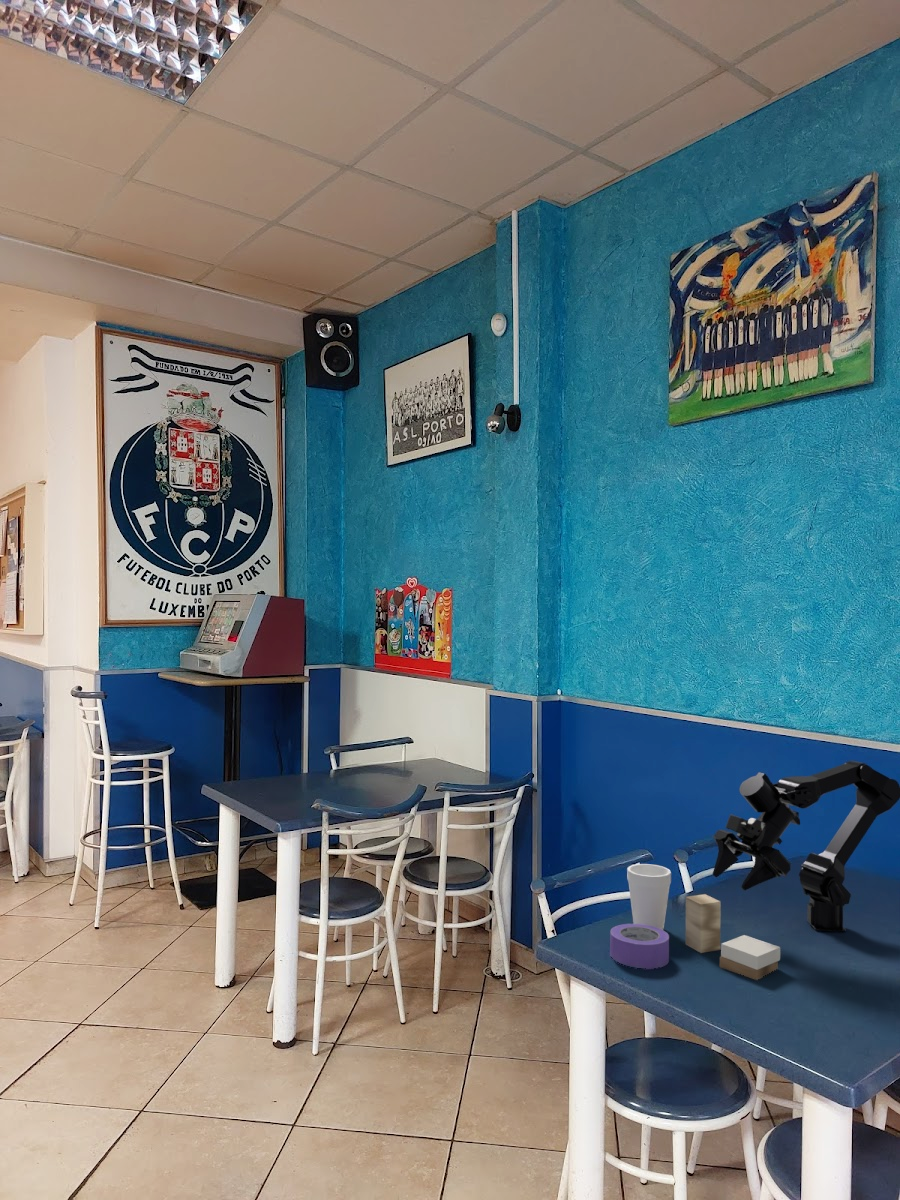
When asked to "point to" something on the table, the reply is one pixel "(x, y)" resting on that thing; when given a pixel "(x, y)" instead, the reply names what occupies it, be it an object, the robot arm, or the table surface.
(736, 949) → the cream slab
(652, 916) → the foam cup
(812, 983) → the table surface
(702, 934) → the beech pillar
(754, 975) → the walnut slab
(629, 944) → the tape roll
